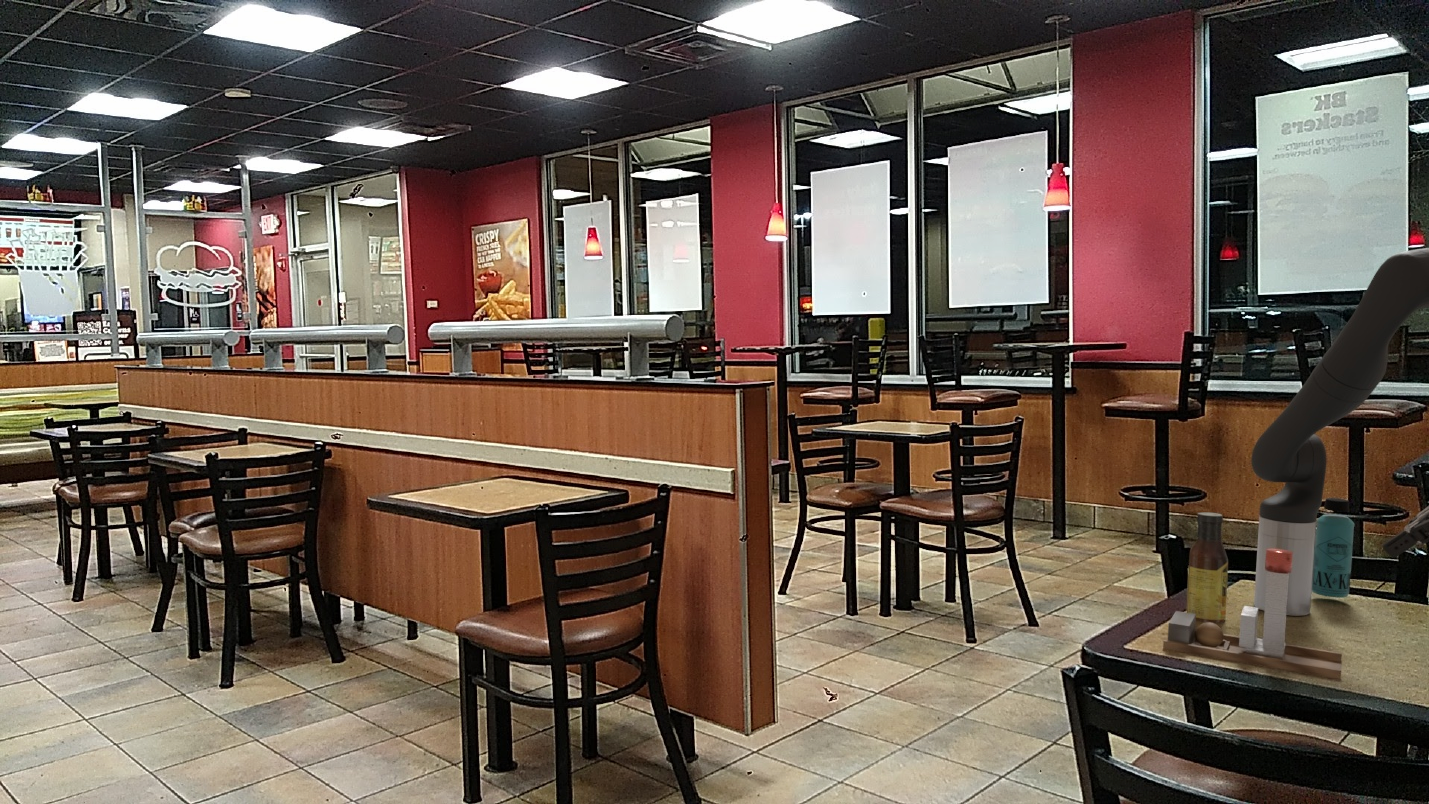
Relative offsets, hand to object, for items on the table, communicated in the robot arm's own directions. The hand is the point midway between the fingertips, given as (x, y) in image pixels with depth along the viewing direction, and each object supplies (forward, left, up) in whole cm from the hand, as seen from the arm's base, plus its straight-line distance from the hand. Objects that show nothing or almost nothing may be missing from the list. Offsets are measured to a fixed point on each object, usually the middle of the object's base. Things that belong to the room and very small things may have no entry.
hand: (1387, 551), depth 147 cm
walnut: (-10, -20, -19) cm, 29 cm away
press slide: (-6, -14, -18) cm, 24 cm away
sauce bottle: (-27, -15, -20) cm, 37 cm away
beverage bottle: (-48, +15, -20) cm, 54 cm away
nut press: (-7, -15, -20) cm, 26 cm away
